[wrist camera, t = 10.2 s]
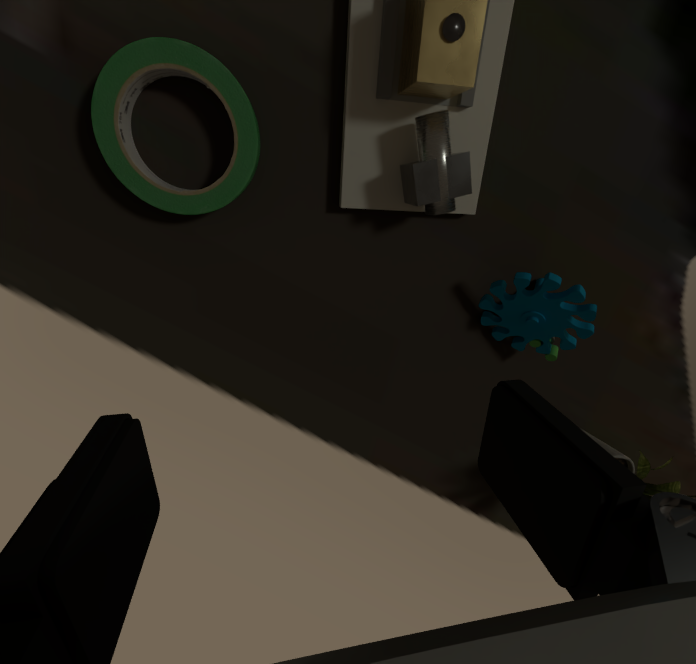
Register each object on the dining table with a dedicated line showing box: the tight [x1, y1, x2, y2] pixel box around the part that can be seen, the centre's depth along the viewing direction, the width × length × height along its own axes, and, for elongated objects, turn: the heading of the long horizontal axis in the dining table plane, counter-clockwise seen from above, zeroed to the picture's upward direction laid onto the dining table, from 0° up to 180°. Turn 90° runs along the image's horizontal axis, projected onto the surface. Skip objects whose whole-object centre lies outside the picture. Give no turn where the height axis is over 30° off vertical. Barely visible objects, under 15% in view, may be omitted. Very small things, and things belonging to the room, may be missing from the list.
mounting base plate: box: [339, 0, 514, 214], centre depth 28 cm, size 12×23×2 cm, turn 177°
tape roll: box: [91, 37, 260, 215], centre depth 27 cm, size 11×11×3 cm
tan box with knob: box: [397, 0, 488, 99], centre depth 25 cm, size 6×4×5 cm, turn 177°
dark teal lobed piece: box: [479, 272, 597, 361], centre depth 36 cm, size 11×6×10 cm
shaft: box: [400, 110, 472, 215], centre depth 29 cm, size 7×4×3 cm, turn 12°
